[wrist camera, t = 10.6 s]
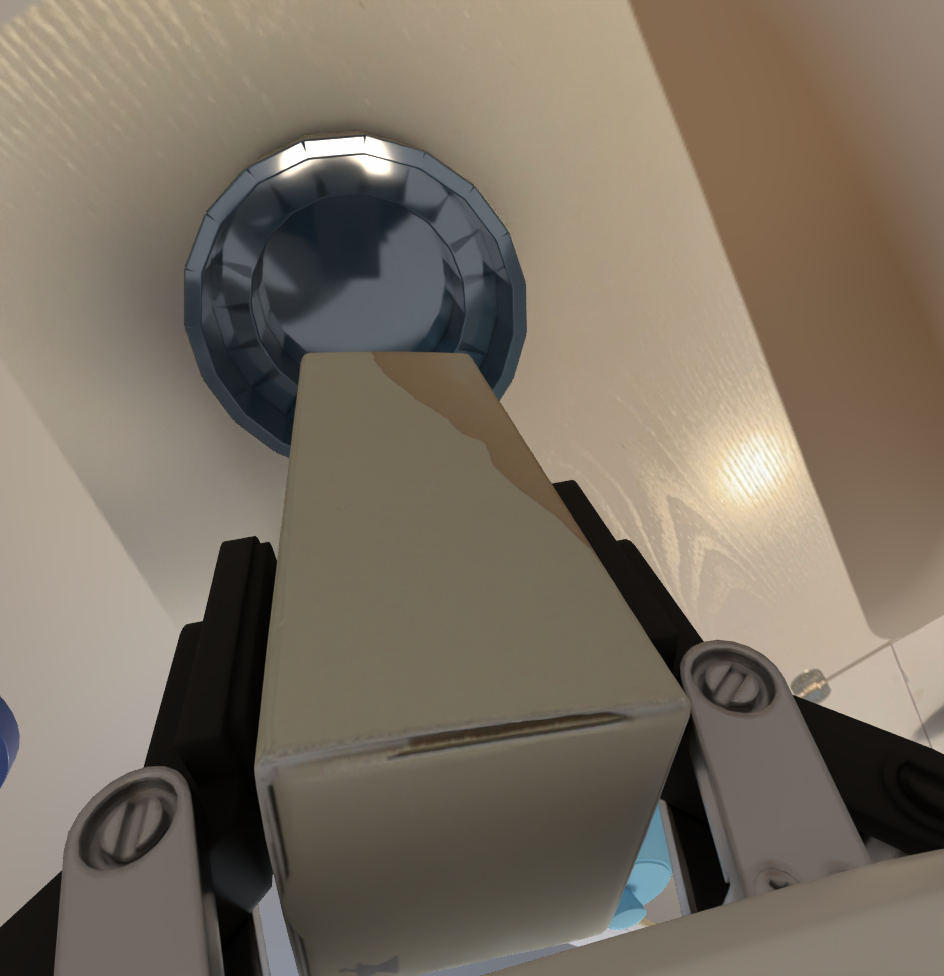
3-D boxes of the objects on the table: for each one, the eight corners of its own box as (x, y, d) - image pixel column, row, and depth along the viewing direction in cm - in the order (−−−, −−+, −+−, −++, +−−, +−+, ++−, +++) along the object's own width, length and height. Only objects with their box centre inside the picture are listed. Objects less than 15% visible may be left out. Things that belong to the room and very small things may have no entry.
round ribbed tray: (254, 434, 31) (242, 496, 26) (166, 145, 24) (124, 154, 19) (497, 397, 33) (528, 448, 28) (484, 118, 25) (524, 120, 20)
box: (460, 512, 17) (609, 947, 8) (311, 522, 17) (298, 1022, 7) (472, 340, 15) (715, 712, 6) (295, 340, 14) (240, 784, 5)
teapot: (648, 684, 50) (729, 828, 40) (670, 787, 61) (739, 921, 51) (462, 757, 50) (497, 919, 40) (517, 848, 61) (555, 994, 51)
